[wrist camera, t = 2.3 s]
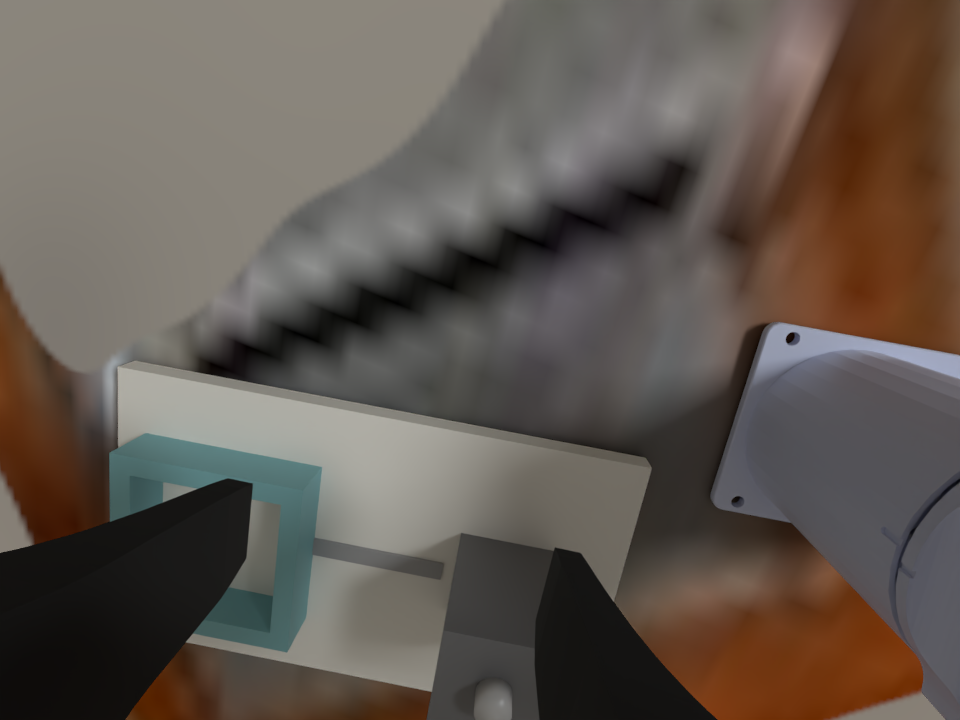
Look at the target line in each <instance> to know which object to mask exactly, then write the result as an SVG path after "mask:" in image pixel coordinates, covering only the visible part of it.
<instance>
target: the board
mask: <svg viewBox="0 0 960 720" xmlns="http://www.w3.org/2000/svg"><path fill="white" fill-rule="evenodd" d="M651 470H652V468H651V466H650V464H649V462H648V461H647V459H646V458H645V457H639V456H634V455H629V454H624V453H618V452H613V451H608V450H603V449H597V448H592V447H587V446H582V445H576V444H571V443H566V442H561V441H555V440H550V439H545V438H539V437H534V436H529V435H524V434H518V433H513V432H508V431H503V430H497V429H492V428H487V427H482V426H476V425H471V424H466V423H461V422H455V421H450V420H445V419H439V418H434V417H429V416H424V415H418V414H413V413H408V412H403V411H397V410H392V409H387V408H382V407H376V406H371V405H366V404H361V403H355V402H350V401H345V400H339V399H334V398H329V397H324V396H318V395H313V394H308V393H303V392H297V391H292V390H287V389H282V388H276V387H271V386H266V385H261V384H255V383H250V382H245V381H239V380H234V379H229V378H224V377H218V376H213V375H208V374H203V373H197V372H192V371H187V370H182V369H176V368H171V367H166V366H161V365H155V364H150V363H145V362H139V361H133V362H130V363H127V364H124V365H121V366H118V448H117V449H115V450H114V451H112V452H110V453H109V473H110V522H111V521H114V520H116V519H119V518H122V517H125V516H128V515H131V514H134V513H136V512H139V511H142V510H145V509H147V508H150V507H152V506H155V505H158V504H160V503H163V502H165V501H168V500H170V499H173V498H176V497H178V496H181V495H183V494H186V493H188V492H191V491H193V490H196V489H198V488H201V487H204V486H206V485H209V484H212V483H215V482H217V481H220V480H224V479H227V478H229V479H234V480H239V481H244V482H248V483H253V490H252V501H251V513H250V524H249V535H248V547H247V558H246V560H245V562H244V563H243V565H242V566H241V568H240V570H239V571H238V573H237V575H236V576H235V578H234V580H233V581H232V583H231V584H230V586H229V587H228V589H227V590H226V592H225V594H224V595H223V597H222V598H221V599H220V600H219V602H218V603H217V604H216V606H215V607H214V608H213V609H212V611H211V612H210V613H209V614H208V615H207V617H206V618H205V619H204V620H203V622H202V623H201V624H200V625H199V627H198V628H197V629H196V630H195V632H194V633H193V634H192V635H191V636H190V638H189V639H188V640H187V641H186V642H187V643H192V644H197V645H202V646H207V647H212V648H217V649H222V650H227V651H232V652H237V653H242V654H247V655H252V656H257V657H262V658H267V659H272V660H277V661H282V662H287V663H291V664H296V665H301V666H306V667H311V668H316V669H321V670H326V671H331V672H336V673H341V674H346V675H351V676H356V677H361V678H366V679H371V680H376V681H381V682H386V683H391V684H396V685H401V686H406V687H411V688H416V689H421V690H426V691H431V692H432V687H433V682H434V676H435V671H436V665H437V660H438V654H439V649H440V643H441V638H442V632H443V627H444V621H445V615H446V610H447V605H448V599H449V594H450V589H451V584H452V578H453V573H454V568H455V562H456V557H457V552H458V546H459V541H460V536H461V533H464V534H470V535H475V536H480V537H485V538H490V539H495V540H500V541H505V542H511V543H516V544H521V545H526V546H531V547H536V548H541V549H547V550H552V551H554V548H555V547H556V548H560V549H565V550H570V551H575V552H579V553H581V554H582V555H583V557H584V558H585V560H586V561H587V563H588V564H589V566H590V567H591V569H592V570H593V572H594V574H595V575H596V577H597V578H598V580H599V581H600V583H601V584H602V586H603V587H604V589H605V590H606V592H607V593H608V594H609V596H610V597H611V599H612V600H613V602H614V600H615V596H616V593H617V589H618V586H619V582H620V579H621V575H622V572H623V568H624V565H625V561H626V558H627V554H628V551H629V547H630V544H631V540H632V537H633V533H634V530H635V526H636V523H637V519H638V516H639V512H640V509H641V505H642V502H643V498H644V495H645V491H646V487H647V484H648V480H649V477H650V473H651Z"/></svg>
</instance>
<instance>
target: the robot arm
mask: <svg viewBox="0 0 960 720" xmlns="http://www.w3.org/2000/svg"><path fill="white" fill-rule="evenodd" d="M791 332H794V334H795V338H794V340H793V341H792V342H790V343H786V337H787V335H788V334H789V333H791ZM252 490H253V483H248V482H244V481H239V480H234V479H229V478H227V479H224V480H220V481H217V482H215V483H212V484H209V485H206V486H204V487H201V488H198V489H196V490H193V491H191V492H188V493H186V494H183V495H181V496H178V497H176V498H173V499H170V500H168V501H165V502H163V503H160V504H158V505H155V506H152V507H150V508H147V509H145V510H142V511H139V512H136V513H134V514H131V515H128V516H125V517H122V518H119V519H116V520H114V521H111V522H108V523H105V524H102V525H99V526H96V527H94V528H91V529H88V530H84V531H81V532H78V533H75V534H71V535H68V536H65V537H61V538H58V539H54V540H50V541H47V542H43V543H40V544H36V545H32V546H28V547H25V548H20V549H16V550H12V551H7V552H3V553H0V720H125V719H126V718H127V716H128V715H129V713H130V712H131V710H132V709H133V707H134V706H135V705H136V703H137V702H138V701H139V700H140V698H141V697H142V696H143V694H144V693H145V692H146V690H147V689H148V688H149V686H150V685H151V684H152V683H153V681H154V680H155V679H156V678H157V677H158V675H159V674H160V673H161V672H162V670H163V669H164V668H165V667H166V666H167V664H168V663H169V662H170V661H171V659H172V658H173V657H174V656H175V655H176V653H177V652H178V651H179V650H180V649H181V647H182V646H183V645H184V644H185V642H186V641H187V640H188V639H189V638H190V636H191V635H192V634H193V633H194V632H195V630H196V629H197V628H198V627H199V625H200V624H201V623H202V622H203V620H204V619H205V618H206V617H207V615H208V614H209V613H210V612H211V611H212V609H213V608H214V607H215V606H216V604H217V603H218V602H219V600H220V599H221V598H222V597H223V595H224V594H225V592H226V590H227V589H228V587H229V586H230V584H231V583H232V581H233V580H234V578H235V576H236V575H237V573H238V571H239V570H240V568H241V566H242V565H243V563H244V562H245V560H246V558H247V547H248V535H249V524H250V513H251V501H252ZM736 496H740V499H739V501H737V502H736V503H731V500H732V499H733V498H734V497H736ZM710 498H711V501H712V502H713V504H714V505H715V506H716V507H717V508H719V509H721V510H726V511H732V512H737V513H742V514H747V515H752V516H758V517H763V518H768V519H773V520H779V521H784V522H789V523H792V524H793V525H794V526H795V527H796V528H797V529H798V530H799V531H800V532H801V534H802V535H803V536H804V537H805V538H806V539H807V540H808V541H809V542H810V543H811V544H812V545H813V546H814V547H815V548H816V549H817V550H818V551H819V553H820V554H821V555H822V556H823V557H824V558H825V559H826V560H827V561H828V562H829V563H830V564H831V565H832V566H833V567H834V568H835V569H836V571H837V572H838V573H839V574H840V575H841V576H842V577H843V578H844V579H845V580H846V581H847V582H848V583H849V584H850V585H851V586H852V587H853V588H854V590H855V591H856V592H857V593H858V594H859V595H860V596H861V597H862V598H863V599H864V600H865V601H866V602H867V603H868V604H869V605H870V606H871V607H872V609H873V610H874V611H875V612H876V613H877V614H878V615H879V616H880V617H881V618H882V619H883V620H884V621H885V622H886V623H887V624H888V625H889V627H890V628H891V629H892V630H893V631H894V632H895V633H896V634H897V635H898V636H899V637H900V638H901V639H902V640H903V641H904V642H905V643H906V644H907V646H908V647H909V648H910V649H911V650H912V651H913V652H914V653H915V654H916V655H917V657H918V658H919V660H920V662H921V665H922V668H923V675H924V680H923V685H922V693H923V695H924V696H925V697H926V698H927V699H928V700H929V701H930V702H931V704H932V705H933V706H934V707H935V708H936V709H937V710H938V712H939V713H940V714H941V715H942V716H943V717H944V718H945V719H946V720H960V355H956V354H951V353H946V352H940V351H935V350H929V349H924V348H918V347H913V346H907V345H902V344H896V343H891V342H886V341H880V340H875V339H869V338H864V337H858V336H853V335H847V334H842V333H837V332H831V331H826V330H820V329H815V328H809V327H804V326H798V325H793V324H787V323H782V322H773V323H770V324H769V325H767V326H766V327H765V328H764V330H763V332H762V335H761V338H760V341H759V344H758V348H757V351H756V354H755V357H754V360H753V363H752V366H751V369H750V372H749V376H748V379H747V382H746V385H745V388H744V391H743V394H742V397H741V400H740V404H739V407H738V410H737V413H736V416H735V419H734V422H733V425H732V428H731V432H730V435H729V438H728V441H727V444H726V447H725V450H724V453H723V456H722V460H721V463H720V466H719V469H718V472H717V475H716V478H715V481H714V484H713V487H712V491H711V495H710ZM534 665H535V677H536V688H537V700H538V710H539V720H717V719H716V718H715V717H714V716H713V715H712V714H711V713H710V712H708V711H707V710H706V709H705V708H704V707H703V706H702V705H701V704H700V703H699V702H698V701H697V700H696V699H695V698H694V697H693V696H692V695H691V694H690V693H689V692H688V691H687V690H686V689H685V688H684V687H683V686H682V685H681V684H680V682H679V681H678V680H677V679H676V678H675V677H674V676H673V675H672V674H671V673H670V672H669V671H668V670H667V669H666V668H665V666H664V665H663V664H662V663H661V662H660V661H659V660H658V658H657V657H656V656H655V655H654V654H653V653H652V651H651V650H650V649H649V648H648V646H647V645H646V644H645V643H644V641H643V640H642V639H641V638H640V636H639V635H638V634H637V633H636V631H635V630H634V629H633V628H632V626H631V625H630V624H629V622H628V621H627V620H626V618H625V617H624V616H623V614H622V613H621V611H620V610H619V609H618V607H617V606H616V604H615V603H614V602H613V600H612V599H611V597H610V596H609V594H608V593H607V592H606V590H605V589H604V587H603V586H602V584H601V583H600V581H599V580H598V578H597V577H596V575H595V574H594V572H593V570H592V569H591V567H590V566H589V564H588V563H587V561H586V560H585V558H584V557H583V555H582V554H581V553H579V552H575V551H570V550H565V549H560V548H556V547H555V548H554V552H553V556H552V560H551V564H550V567H549V571H548V575H547V579H546V582H545V586H544V590H543V594H542V598H541V601H540V605H539V609H538V613H537V617H536V621H535V662H534Z"/></svg>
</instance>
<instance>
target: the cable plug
mask: <svg viewBox="0 0 960 720" xmlns="http://www.w3.org/2000/svg"><path fill="white" fill-rule="evenodd" d="M553 552H554V551H552V550H547V549H541V548H536V547H531V546H526V545H521V544H516V543H511V542H505V541H500V540H495V539H490V538H485V537H480V536H475V535H470V534H464V533H461V536H460V541H459V546H458V552H457V557H456V562H455V568H454V573H453V578H452V584H451V589H450V594H449V599H448V605H447V610H446V615H445V621H444V627H443V632H442V638H441V643H440V649H439V654H438V660H437V665H436V671H435V676H434V682H433V687H432V693H431V698H430V704H429V709H428V715H427V720H539V710H538V700H537V688H536V677H535V665H534V662H535V621H536V617H537V613H538V609H539V605H540V601H541V598H542V594H543V590H544V586H545V582H546V579H547V575H548V571H549V567H550V564H551V560H552V556H553Z"/></svg>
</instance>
